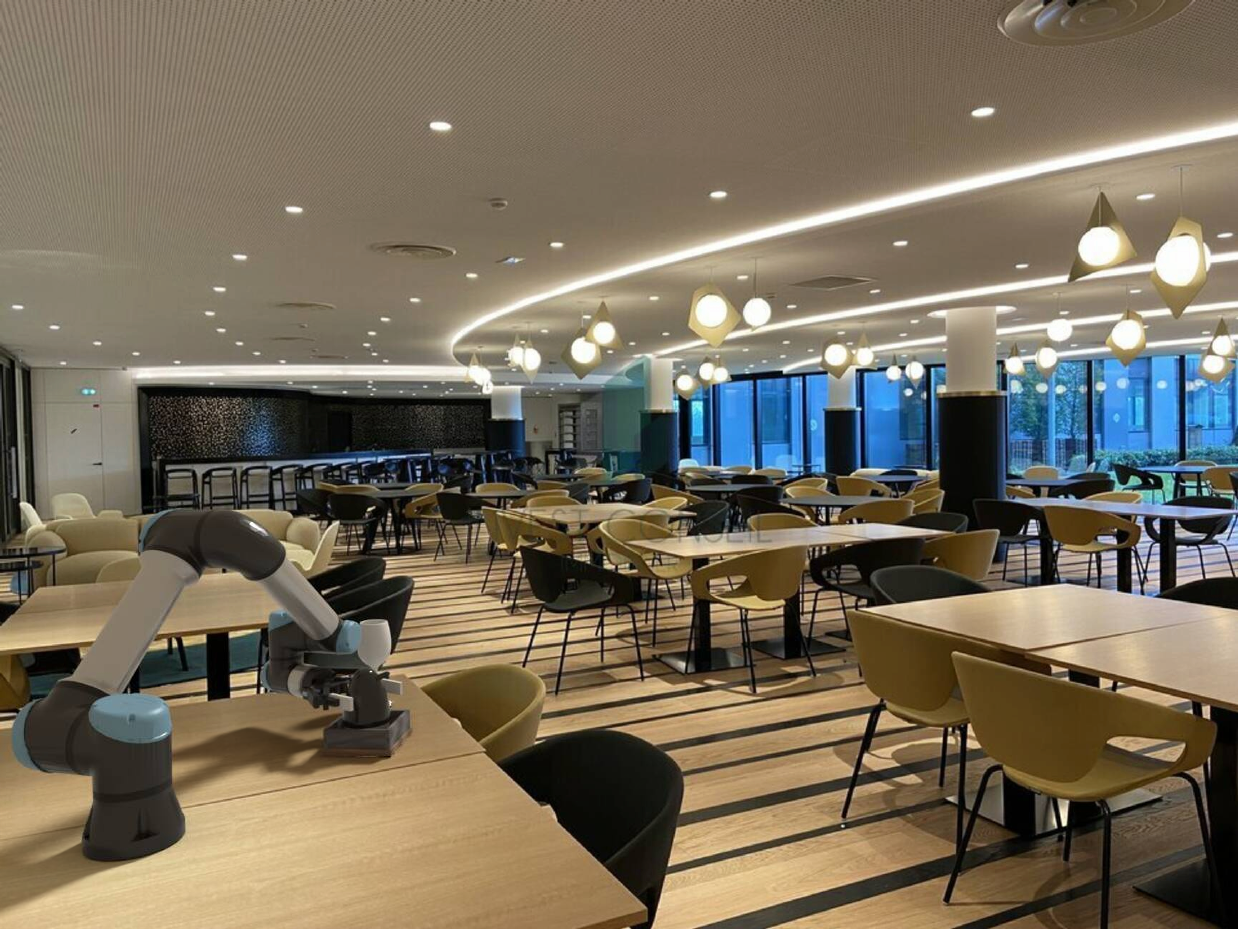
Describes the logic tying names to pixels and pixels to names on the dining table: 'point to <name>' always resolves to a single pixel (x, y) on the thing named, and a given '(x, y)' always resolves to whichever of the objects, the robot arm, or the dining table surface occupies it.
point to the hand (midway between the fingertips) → (377, 696)
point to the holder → (367, 737)
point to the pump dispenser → (367, 701)
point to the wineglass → (374, 643)
